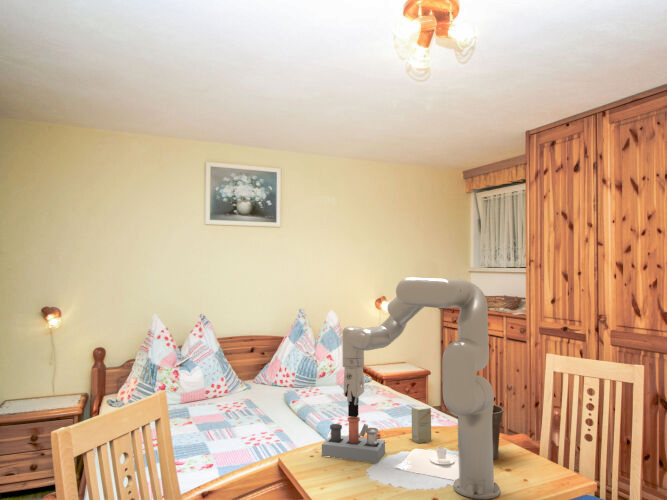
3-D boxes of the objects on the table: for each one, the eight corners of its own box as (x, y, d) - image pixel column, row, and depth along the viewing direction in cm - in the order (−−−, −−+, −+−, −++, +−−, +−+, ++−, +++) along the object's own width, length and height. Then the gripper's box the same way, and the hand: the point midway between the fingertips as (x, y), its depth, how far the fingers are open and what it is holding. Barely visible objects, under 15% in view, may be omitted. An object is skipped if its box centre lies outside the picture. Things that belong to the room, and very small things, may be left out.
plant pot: (497, 447, 165) (496, 401, 166) (511, 464, 149) (509, 413, 150) (451, 446, 166) (450, 400, 168) (460, 463, 150) (459, 412, 152)
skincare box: (418, 443, 169) (418, 409, 171) (411, 440, 173) (410, 407, 174) (432, 440, 173) (431, 407, 174) (424, 437, 176) (423, 405, 177)
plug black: (339, 451, 158) (339, 427, 159) (328, 450, 160) (328, 426, 160) (343, 447, 162) (343, 424, 163) (332, 446, 164) (332, 423, 164)
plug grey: (376, 456, 154) (376, 431, 155) (364, 454, 155) (364, 430, 156) (379, 452, 158) (379, 428, 159) (367, 450, 159) (367, 427, 160)
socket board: (377, 463, 150) (377, 450, 151) (321, 456, 157) (321, 444, 157) (385, 452, 161) (385, 440, 161) (332, 446, 167) (332, 434, 168)
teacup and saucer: (450, 468, 145) (449, 455, 145) (425, 464, 149) (425, 451, 149) (457, 459, 153) (456, 446, 153) (433, 455, 157) (433, 442, 157)
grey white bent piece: (348, 447, 165) (348, 424, 166) (348, 446, 167) (348, 423, 168) (368, 447, 166) (368, 424, 166) (367, 445, 167) (367, 423, 168)
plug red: (357, 444, 156) (357, 420, 157) (346, 443, 158) (346, 419, 159) (361, 440, 160) (361, 417, 161) (349, 439, 162) (349, 416, 162)
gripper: (357, 366, 153) (357, 423, 152) (369, 359, 167) (369, 411, 166) (336, 365, 156) (336, 420, 154) (349, 358, 170) (349, 409, 168)
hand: (353, 415), depth 160 cm, fingers closed
